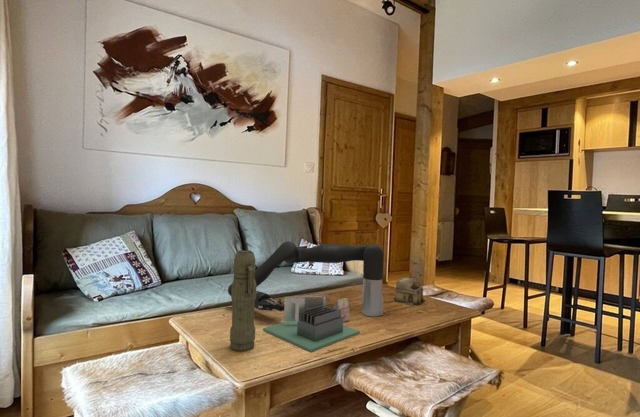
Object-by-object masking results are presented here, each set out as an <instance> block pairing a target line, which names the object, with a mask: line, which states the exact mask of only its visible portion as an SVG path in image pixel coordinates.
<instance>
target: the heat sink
mask: <svg viewBox="0 0 640 417" xmlns="http://www.w3.org/2000/svg"><path fill="white" fill-rule="evenodd" d="M299 296H300V295H292V296H289V297H290V302H292V303H295V304H296V306H295V320H296V321H283V322H279V323H275V324H273V325H269V326H266V327H263V328H262V331H263V332H266V333H268V334H270V335H272V336H274V337H276V338H279V339H281V340H282V341H285V342H287V343H289V344H291V345H294V346H296V347H299V348H301V349H303V350H305V351H307V352H310V353H313V352H315V351H319V350H320V349H323V348H326V347H329V346H331V345H333V344H336V343H338V342H341V341H344V340H346V339H349V338H351V337H355V336H357V335H358V334H360V332H361V331H360V330H359V329H358V330H357V329H355V328H352V327H350V326H347V325H344V322H343V317H341V309H340V310H338V308H335V309H334V306H332V307H331V306H330V305H327V304H326V305H323V306H320V307H316V308H313V309H309V310H305V311H304V309H305V298H302V297H299Z"/></svg>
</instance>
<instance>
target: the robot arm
mask: <svg viewBox="0 0 640 417" xmlns="http://www.w3.org/2000/svg"><path fill="white" fill-rule="evenodd" d="M384 254H385V252H384V250H383V247H382V246H380V245H379V244H375V243H372V244H364V245H363V244H362V245H352V244H349V245H348V244H339V243H337V244H336V243H335V244H334V243H324V244H319V245H316V246H313V247H297V245H296V243H294V242H292V241H284V242H283V243H281V244H280V245H279V247H278V248H276V250H274V252H273V253H272V254H271V255H270V256H269V257H268V258H267V259H266V260H265V261H264V262H263V263H261V265H259V266H258V267H257V268H255V273H254V276H255V281H256V288H257V287H259V286H260V285H261V284H263V283H264V282H265V281H266V280H267V279H268V278H269V276H270V275H271V274H272V273H273V271H275V270H274V269H276V268H277V267H278V266H279V265H280V264H282V263H283V262H285V263H287V264H297V263H298V264H299V263H321V264H322V263H323V264H339V263H340V264H342V263H346V262H353V261H359V262H360V261H361V262H362V263H363V264H362V273H363V275H362V277H363V278H362V297H361V298H362V301H361V314H362V315H363V316H367V317H373V318H374V317H375V318H376V317H381V316H383V315H384V299H385V298H384V295H383V279H384V278H383V277H384ZM227 287H228V288H227V293H228V295H229V296H230V297H231V290H232V283H231V284H229V286H227ZM254 309H257V310H259V311H271V312H272V311H276V310H277V311H279V312H284V304H283V303H282V298H278V299H277V300H276V299H275V298H272V297H271V295H270V294H268V293H265V292H264V291H263V292H262V291H260V290H256V299H255V305H254Z"/></svg>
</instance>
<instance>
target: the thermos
mask: <svg viewBox="0 0 640 417" xmlns="http://www.w3.org/2000/svg"><path fill="white" fill-rule="evenodd" d="M255 270H256V256H255V253H254V251H252V250H249V249H247V250H246V249H245V250H243V249H242V250H241V249H240V250H238V251H237V252H236V253H235V255H234V259H233V273H234V275H233V279H232V283H231V284H232V290H231V296H230V298H231V299H230V300H231V301H232V302H231V303H232V304H231V306H232V307H231V308H232V310H231V314H232V315H231V316H232V317H231V327H230V331H229V341H230V345H229V347H230V350H232V351H234V352H240V353H241V352H242V353H243V352H248V351H251V350H253V349H254V348H255V341H256V326H255V308H254V305H255V299H256V291H257V287H256V281H255V276H254V273H255Z"/></svg>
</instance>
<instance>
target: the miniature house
mask: <svg viewBox="0 0 640 417" xmlns="http://www.w3.org/2000/svg"><path fill="white" fill-rule="evenodd" d="M395 285H396V286H395V290H394V292H395V296H394V298H393V300H394V301H395V302H396V303H400V304H405V306H407V305H408V306H412V307H413V306H418V305H422V303H425V298H424V291H425V290H424V286H422V285H418V284H417V279H416V278H412V277H411V278H410V277H406V276H405V277H403V276H402V277H401V278H399V279H397V280H396V284H395Z"/></svg>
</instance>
